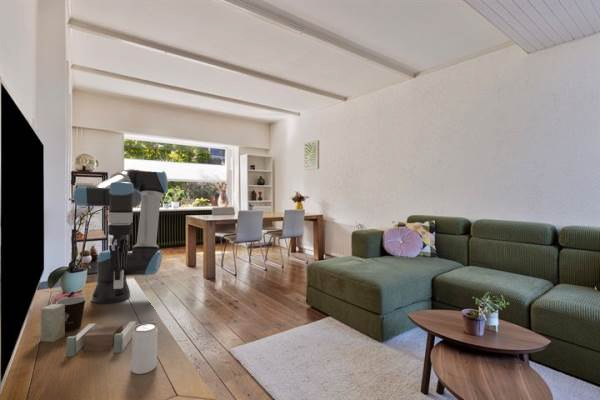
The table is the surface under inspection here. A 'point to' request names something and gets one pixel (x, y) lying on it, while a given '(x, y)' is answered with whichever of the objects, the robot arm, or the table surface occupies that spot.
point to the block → (102, 336)
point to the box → (52, 322)
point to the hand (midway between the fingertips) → (118, 288)
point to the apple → (67, 296)
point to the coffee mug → (73, 312)
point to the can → (144, 348)
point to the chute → (78, 341)
